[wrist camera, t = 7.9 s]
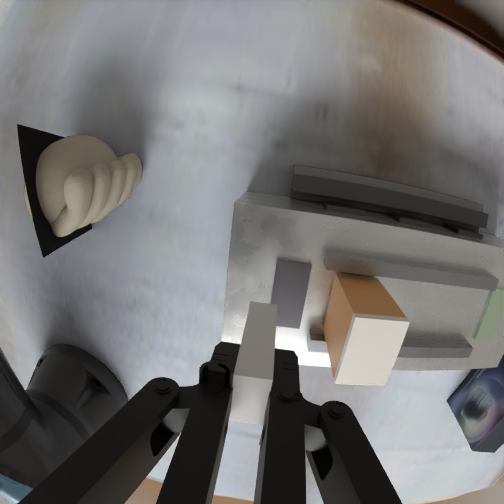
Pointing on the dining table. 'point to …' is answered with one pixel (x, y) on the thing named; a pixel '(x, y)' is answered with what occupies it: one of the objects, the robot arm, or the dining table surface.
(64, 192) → the decorative object
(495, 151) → the dining table surface
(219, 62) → the dining table surface
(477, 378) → the small box
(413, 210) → the grooved gray rail
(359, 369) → the lever
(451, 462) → the dining table surface
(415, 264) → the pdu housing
